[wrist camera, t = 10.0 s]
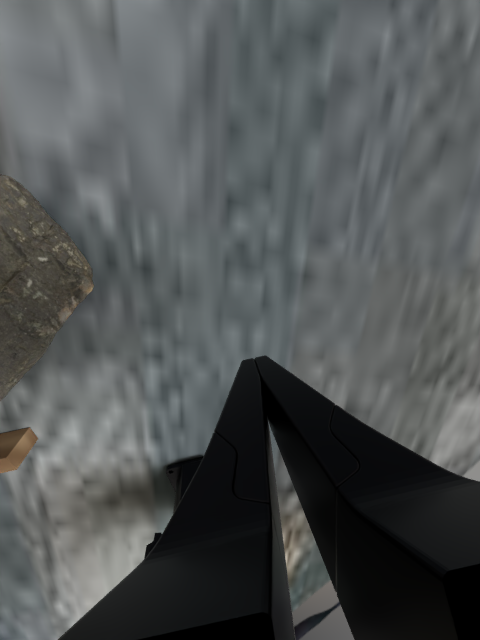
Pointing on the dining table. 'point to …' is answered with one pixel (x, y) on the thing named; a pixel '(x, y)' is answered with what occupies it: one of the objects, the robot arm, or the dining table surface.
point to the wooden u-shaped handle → (15, 448)
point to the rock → (33, 281)
